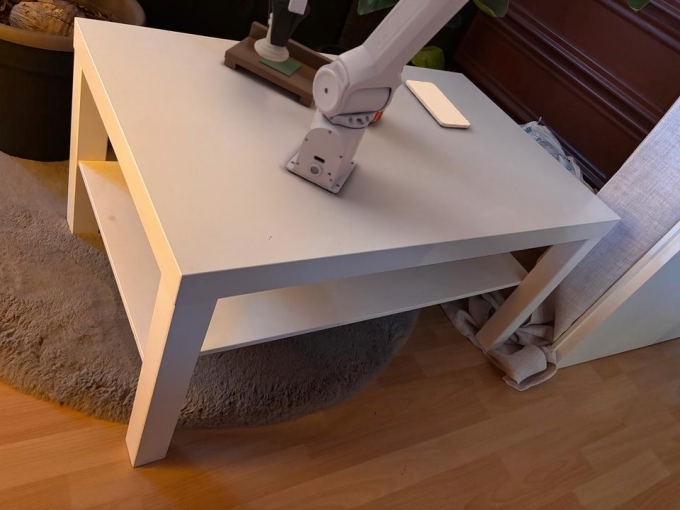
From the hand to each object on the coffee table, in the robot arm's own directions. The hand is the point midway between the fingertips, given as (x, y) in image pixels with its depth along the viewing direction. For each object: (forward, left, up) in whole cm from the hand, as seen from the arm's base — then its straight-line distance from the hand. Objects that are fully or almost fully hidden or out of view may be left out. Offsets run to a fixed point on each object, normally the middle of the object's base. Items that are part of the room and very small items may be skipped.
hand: (275, 38), depth 83 cm
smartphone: (+27, -26, -10) cm, 39 cm away
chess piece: (0, 0, -3) cm, 3 cm away
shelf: (+8, 0, -9) cm, 12 cm away
